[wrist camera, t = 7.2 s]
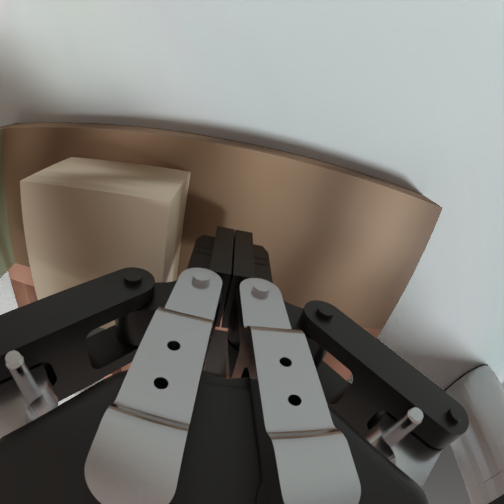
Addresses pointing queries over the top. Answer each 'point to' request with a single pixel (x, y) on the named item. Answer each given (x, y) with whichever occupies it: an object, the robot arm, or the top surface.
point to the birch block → (101, 221)
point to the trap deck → (246, 215)
